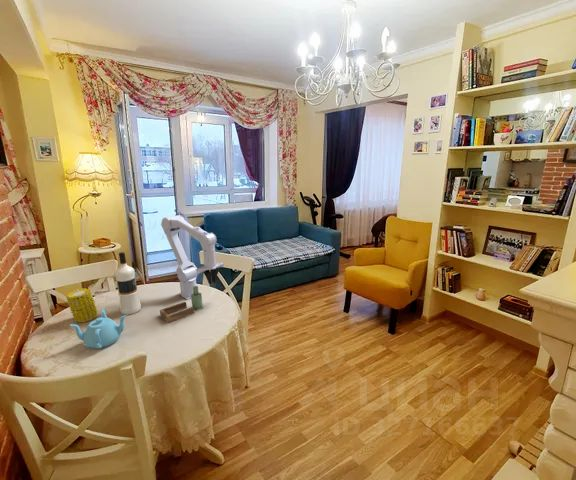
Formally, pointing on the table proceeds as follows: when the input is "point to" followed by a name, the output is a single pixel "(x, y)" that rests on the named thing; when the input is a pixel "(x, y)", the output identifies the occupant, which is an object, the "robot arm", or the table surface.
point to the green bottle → (196, 299)
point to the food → (82, 305)
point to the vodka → (127, 287)
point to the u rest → (175, 308)
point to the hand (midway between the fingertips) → (211, 282)
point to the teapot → (100, 332)
